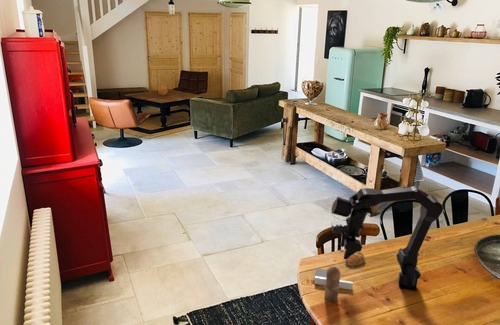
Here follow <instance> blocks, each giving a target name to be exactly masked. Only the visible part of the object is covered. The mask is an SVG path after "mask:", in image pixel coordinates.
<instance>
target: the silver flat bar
mask: <svg viewBox="0 0 500 325" xmlns="http://www.w3.org/2000/svg"><path fill="white" fill-rule="evenodd" d="M314 277H315V279H314V285H321V286H326V278H324V277H317V276H315V275H314ZM353 286H354V282H353V281H348V280H342V279H340V280H339V289H345V290H351V291H353Z"/></svg>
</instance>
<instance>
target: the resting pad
mask: <svg viewBox="0 0 500 325" xmlns="http://www.w3.org/2000/svg"><path fill="white" fill-rule="evenodd" d="M327 270H328V269H322V268H315V271H314V277H313V279H314V280H315V276H317V277H324V278H326V276H327Z"/></svg>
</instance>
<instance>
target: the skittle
mask: <svg viewBox="0 0 500 325" xmlns="http://www.w3.org/2000/svg"><path fill="white" fill-rule="evenodd" d="M326 270H327V276H326V286H325V285H324V286H325V289H324V299H325V300H326V301H328V302H337V301H338V299H339V297H338V296H339V290H340V288H339V280H341V279H340V278H341V271H340V270H339V268H338V267H336V266H331V267H329V268H328V269H326Z"/></svg>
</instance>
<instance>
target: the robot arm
mask: <svg viewBox="0 0 500 325" xmlns="http://www.w3.org/2000/svg"><path fill="white" fill-rule="evenodd" d="M409 200H415V201H416V202H417V203H418V204H420V209H419V212H420V213H419V218H418V221H417V223H416V224H415V227H414V229H413V231H412V234H411V236H410V238H409V240H408V243H407V245H406V246H405V247H404V248H401V247H400V248H399V249H398V252H397V254H396V261H397V263H398V266H399V268H400V271H399V272H398V278H397V282H398V285H399V289H402V290H408V291H415V292H417V291H418V288H417V285H418V280H420V277H421V276H422V274H421V272H420V270H419V268H418V266H417V265H418V261H419V260H418V256H419V255H418V254H419V252H420V249H421V248H422V245H423V243H424V241H425V239H426V237H427V235H428V233H429V230H430V228H431V226H432V224H433V223H434V222H435V221H436V220H438V219H439V218H440V216H441V215H442V213H443V211H444V206H443V204H442V203H441V202H440V201H439V200H438V199H437V197H436V196H434V195H429V194H428V193H427V192H425V191H423V190H422V189H421V188H419V187H418V186H416V185H413V186H410V187H409V186H408V187H407V186H406V187H401V188H400V187H399V188H391V189H389V188H388V189H376V188H368V187H367V188H366V187H363V188H360V189H359V190H357V192H356V193H355V194H353V195H351V196H350V197H349V198H348V199H345V198H342V197H339V196H337V197H336V198H335V200H334V201H333V203H332V206H331V210H330V212H331V214H332V215H336V216H340V217H344V218H345V219H340V220H339V219H338V220H332V221H331V231H332V233H333V234H341V239H340V247H342V248H345V250H344V254H343V260H346V259H348V258H349V257H350V256H351V255H353V254H354V253H356V252H362V249H363V245H362V242H361V240H360V239H357V238H360V236H361V234H360V233H361V230H363V229H364V227H365V226H364V222H365V220H366V218H367V215H368V214H370V215H373V214H374V211H373V209H372V207H377V206H378V205H380V204H383V203H388V202H389V203H391V202H401V201H409Z"/></svg>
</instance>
